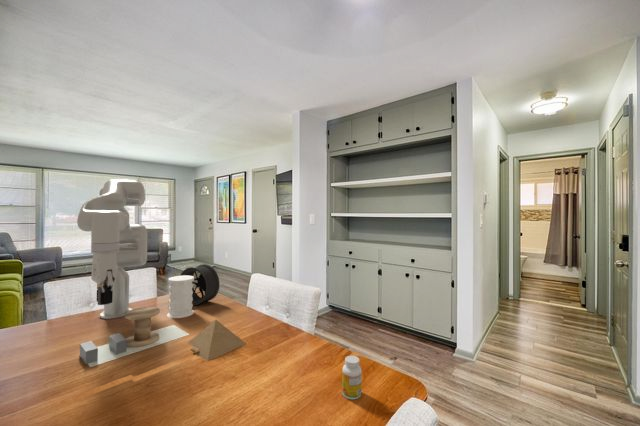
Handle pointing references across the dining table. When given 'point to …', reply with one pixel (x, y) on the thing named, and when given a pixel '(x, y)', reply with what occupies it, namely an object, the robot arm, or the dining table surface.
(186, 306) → the decorative container
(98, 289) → the plug
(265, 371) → the dining table surface
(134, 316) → the bobbin
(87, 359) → the terminal block
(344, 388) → the supplement bottle
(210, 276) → the wheel rim
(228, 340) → the model pyramid
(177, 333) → the base board
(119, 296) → the robot arm
